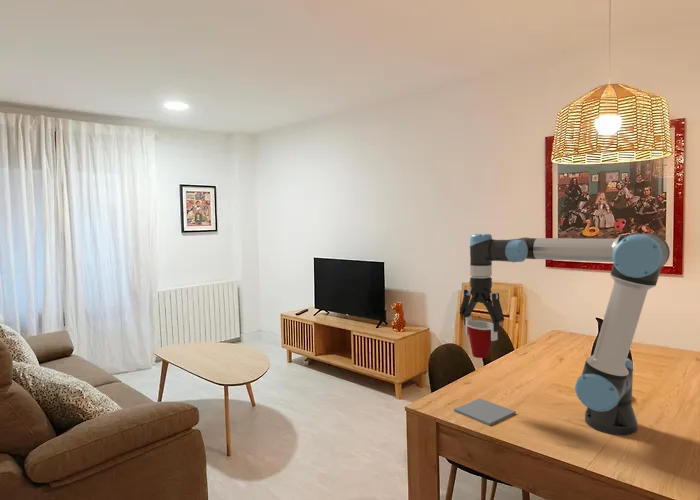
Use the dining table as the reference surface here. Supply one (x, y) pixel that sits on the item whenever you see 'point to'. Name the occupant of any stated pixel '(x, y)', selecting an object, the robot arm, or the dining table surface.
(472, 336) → the plastic cup
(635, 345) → the dining table surface
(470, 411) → the rest mat
